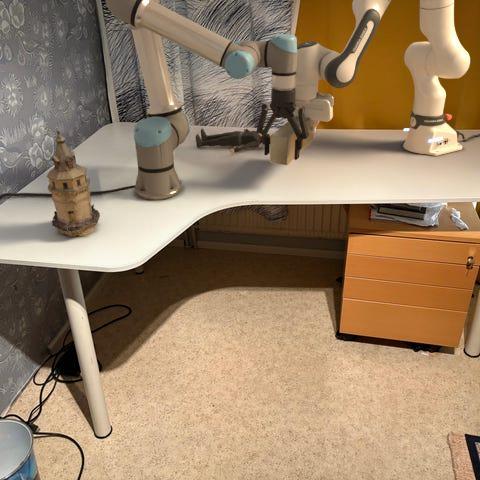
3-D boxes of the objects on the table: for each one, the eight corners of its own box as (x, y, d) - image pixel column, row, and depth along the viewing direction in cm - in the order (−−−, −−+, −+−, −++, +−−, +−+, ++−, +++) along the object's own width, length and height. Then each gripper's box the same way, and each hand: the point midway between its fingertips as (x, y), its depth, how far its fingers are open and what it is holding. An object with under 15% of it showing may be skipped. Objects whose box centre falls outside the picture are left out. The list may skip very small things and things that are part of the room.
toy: (206, 122, 226) (276, 122, 220) (207, 136, 229) (277, 136, 223) (189, 142, 204) (266, 142, 198) (190, 157, 207) (267, 158, 201)
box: (287, 165, 174) (287, 138, 169) (270, 162, 176) (270, 135, 171) (313, 139, 195) (314, 114, 191) (298, 137, 197) (299, 113, 193)
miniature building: (80, 214, 164) (63, 117, 149) (111, 225, 157) (96, 125, 142) (44, 231, 154) (22, 130, 140) (75, 244, 147) (55, 139, 133)
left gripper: (322, 88, 164) (318, 157, 175) (254, 82, 172) (254, 148, 183) (314, 94, 158) (310, 165, 169) (245, 87, 166) (245, 155, 177)
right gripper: (336, 92, 184) (334, 131, 190) (281, 87, 191) (280, 124, 198) (331, 96, 179) (329, 136, 185) (274, 91, 186) (273, 129, 193)
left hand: (281, 156), depth 176 cm, fingers open, 10 cm apart
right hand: (303, 130), depth 192 cm, fingers closed on box, 6 cm apart
